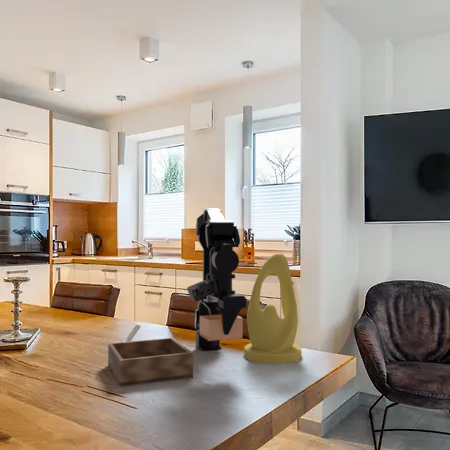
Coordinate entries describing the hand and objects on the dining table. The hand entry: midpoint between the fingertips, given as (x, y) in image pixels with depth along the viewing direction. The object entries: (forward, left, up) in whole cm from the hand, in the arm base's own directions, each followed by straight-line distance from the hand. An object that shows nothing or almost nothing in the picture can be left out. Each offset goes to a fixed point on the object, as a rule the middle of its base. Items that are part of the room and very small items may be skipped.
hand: (220, 331), depth 114 cm
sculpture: (-21, -11, -11) cm, 26 cm away
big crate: (+16, -10, -11) cm, 22 cm away
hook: (+18, -27, -11) cm, 34 cm away
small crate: (0, 0, -1) cm, 1 cm away
